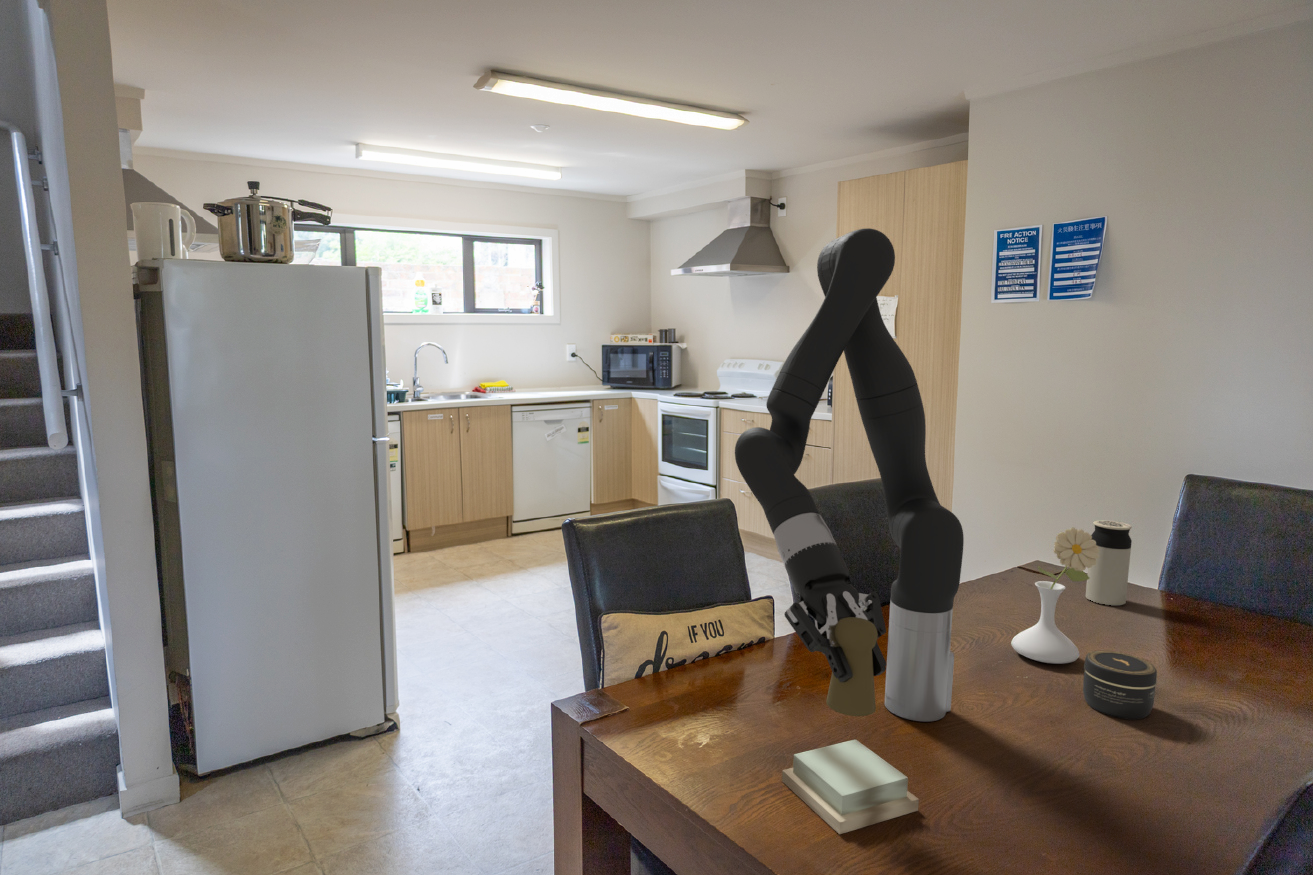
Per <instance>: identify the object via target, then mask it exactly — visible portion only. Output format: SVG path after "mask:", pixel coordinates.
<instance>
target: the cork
mask: <svg viewBox="0 0 1313 875" xmlns="http://www.w3.org/2000/svg"><path fill="white" fill-rule="evenodd" d="M835 637H836V639H837V641H838V643H839V645H838V648H839V647H841V648H842V650H843V652H844V654H845V657H846V659H847V661H848V664H849V666H850V668H851V671H852V673H853V677H852V678H851V679H849V680H848V681H847V682H842V683H841V682H840V681H839V679H838V678H836V677H835V676H834V674H833V672H831V677H830V680H829V681H830V682H829V686H828V689H827V690H828V692H827V696H826V701H825V702H826V705H827V707H829V709H830V710H833V711H834V712H836V713H839V714H841V715H845V716H850V717H867V716H870V715H873V714H874V713H875V712H876V707H877V706H876V693H875V692H876V691H875V690H876V689H875V676H874V673H873V658H872V648H873V647H874V646H875V644H876V642H877V643H878V639H877V637H878V633H877V629H876V627H875V626H874V624H873V623H871V622H870V621H868V620H866V619H862V618H857V617H847V618H843V619H841V620H839V621H838V623H837V625H836V628H835Z"/></svg>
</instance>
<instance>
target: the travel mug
mask: <svg viewBox="0 0 1313 875" xmlns="http://www.w3.org/2000/svg"><path fill="white" fill-rule="evenodd" d="M1093 525H1094V530H1093V532H1092V534H1090V535H1091V536H1092V539H1091V540H1095V541H1096V545H1097V546H1098V547H1099V550H1100V552H1099V553H1097V554H1098V555H1099V558H1098V559H1096V563H1097V564H1096V565H1092V567H1091V568H1087V573H1086V574H1087V575H1088V577H1089V578H1090V579H1088V580H1086V586H1085V598H1086V599H1088V600H1089V601H1090V600H1091V601H1090V602H1092V601H1093V602H1092V603H1095V602H1096V603H1095V604H1098V603H1099V604H1100V605H1102V604H1105V605H1104V606H1109V605H1111V606H1110V607H1119V606H1123V605H1126V603H1127V591H1128V581H1129V572H1130V561H1131V552H1132V551H1131V550H1132V543H1133V542H1132V541H1133V540H1132V538H1131V536H1130V530H1131V529H1132V525H1131V524H1129V523H1125V522H1121V521H1116V520H1095V521H1093ZM1099 604H1098V605H1099Z"/></svg>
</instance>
